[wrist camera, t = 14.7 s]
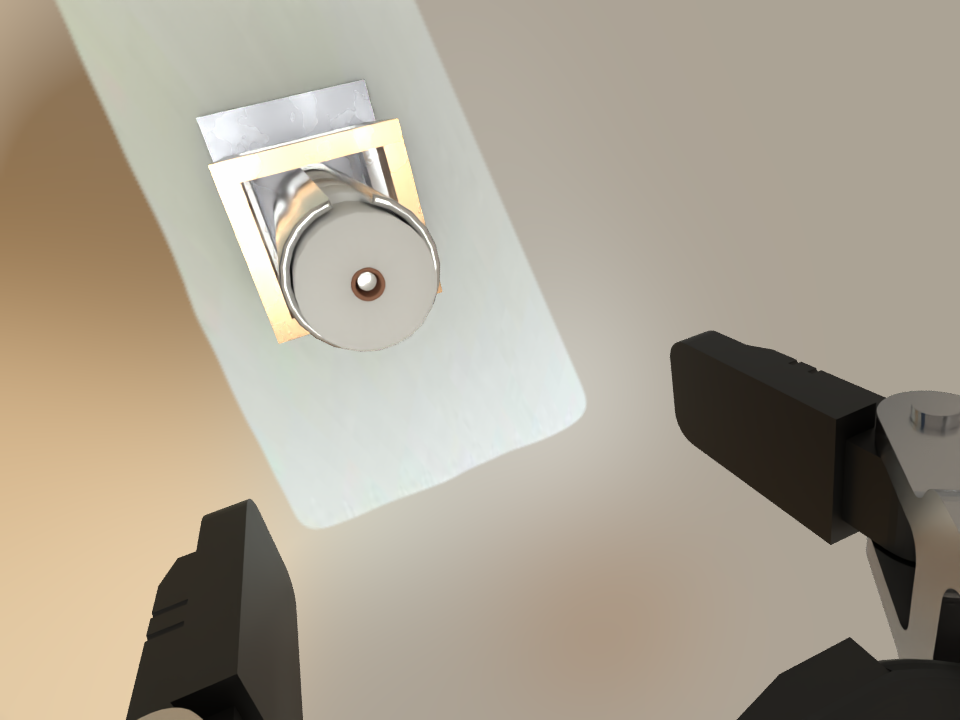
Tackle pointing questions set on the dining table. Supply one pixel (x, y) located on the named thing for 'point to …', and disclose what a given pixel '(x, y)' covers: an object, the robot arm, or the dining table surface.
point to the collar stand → (292, 144)
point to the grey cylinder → (352, 260)
